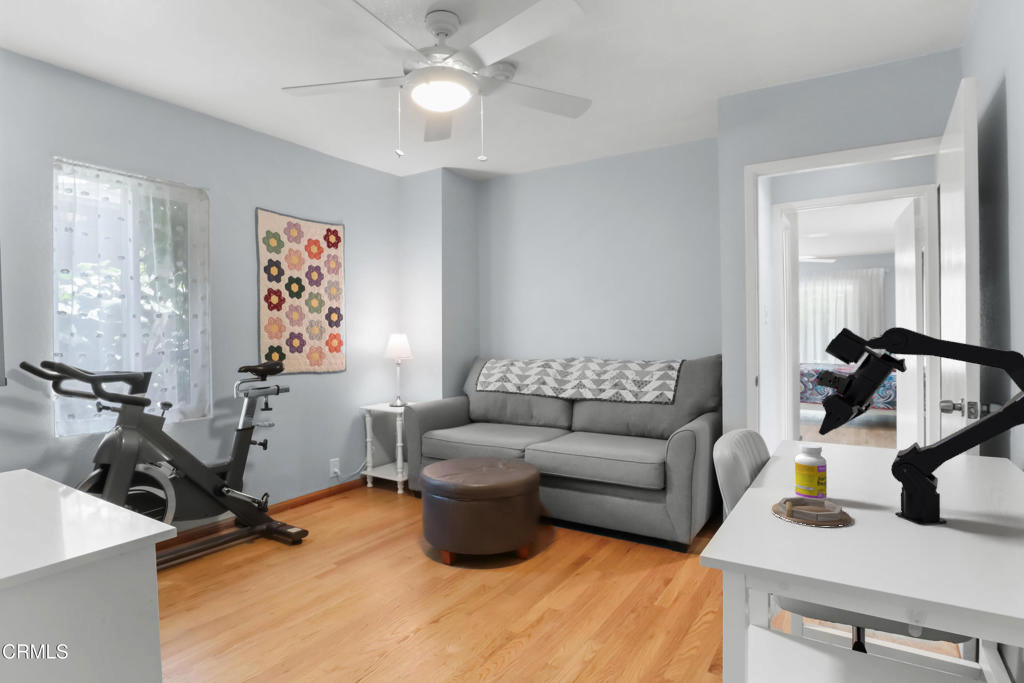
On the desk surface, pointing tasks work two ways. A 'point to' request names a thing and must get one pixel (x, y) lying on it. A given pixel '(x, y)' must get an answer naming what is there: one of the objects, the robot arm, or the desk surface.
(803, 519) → the collar plate
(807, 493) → the supplement bottle
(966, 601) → the desk surface
